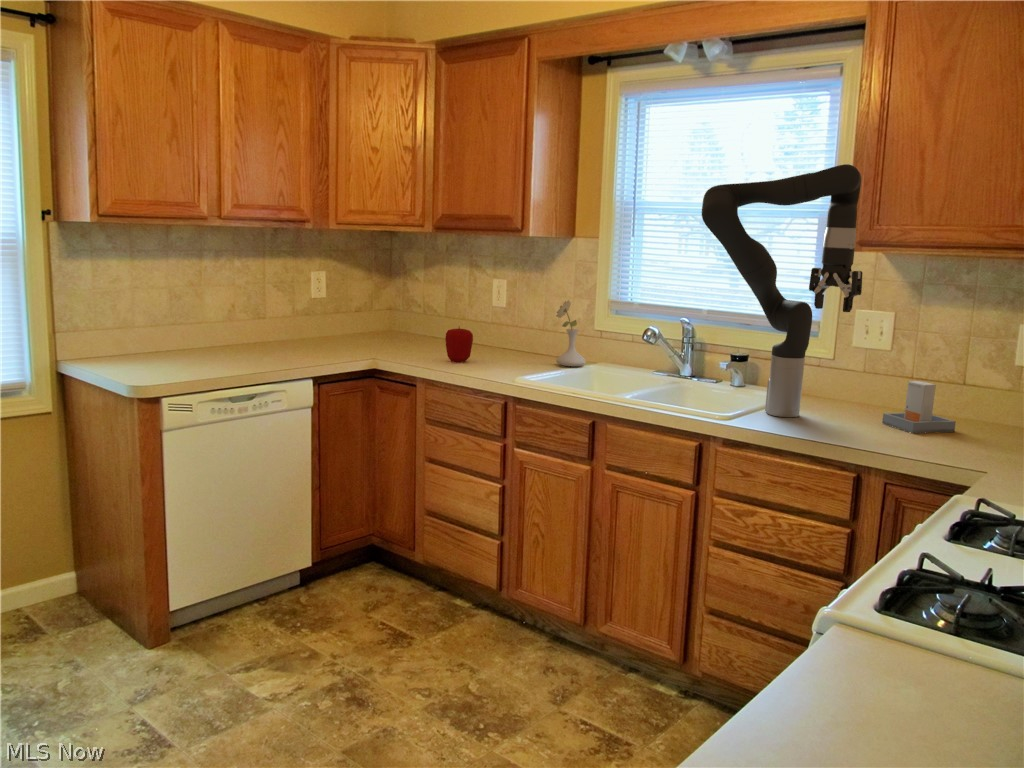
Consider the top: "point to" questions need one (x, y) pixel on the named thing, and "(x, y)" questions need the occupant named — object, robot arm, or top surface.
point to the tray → (919, 423)
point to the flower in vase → (571, 354)
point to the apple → (458, 344)
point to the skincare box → (919, 401)
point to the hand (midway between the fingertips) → (832, 310)
